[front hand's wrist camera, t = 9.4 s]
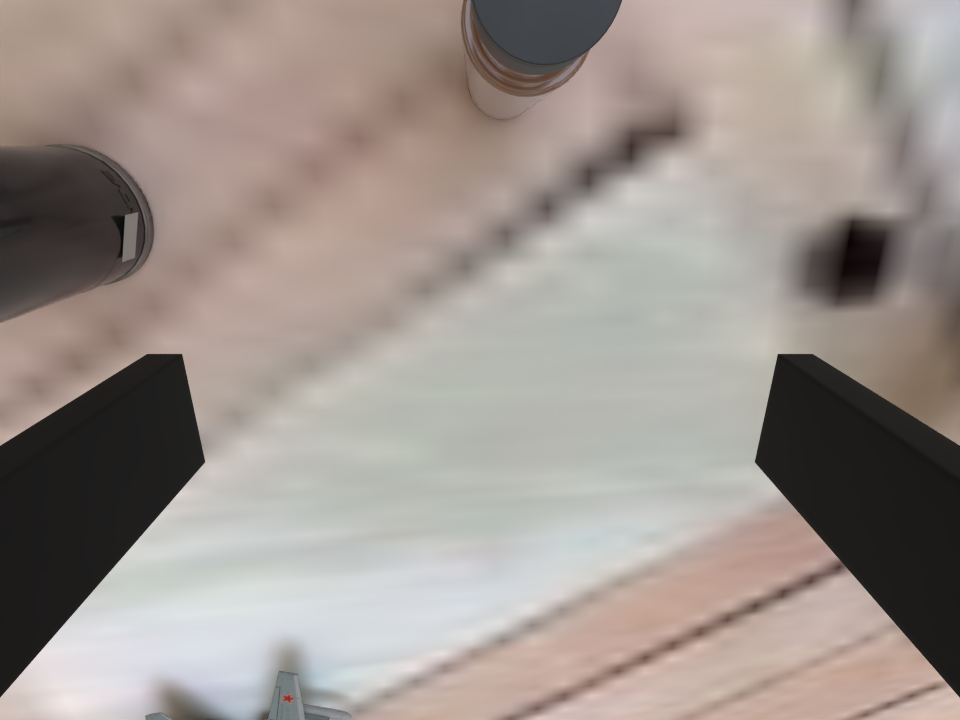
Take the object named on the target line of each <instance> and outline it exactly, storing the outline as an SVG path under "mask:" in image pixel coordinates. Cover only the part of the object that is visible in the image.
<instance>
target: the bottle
mask: <svg viewBox="0 0 960 720" xmlns="http://www.w3.org/2000/svg"><path fill="white" fill-rule="evenodd" d="M461 29H462V39H463V47H464V55H465V63H466V71H467V78H468V86H469V92H470V95H471V97H472V100H473V102H474V103H475V105H476V106H477V107H478V109H479V110H481V111H482V112H483V113H484V114H486V115H487V116H489V117H492V118H495V119H501V120H504V119H511V118H514V117H516V116H518V115H520V114H522V113H523V112H525V111H526V110H527V109H529V108H530V107H532V106H533V105H535V104H536V103H538V102H539V101H540V100H542V99H543V98H545V97H546V96H548V95H549V94H551V93H552V92H553V91H555V90H556V89H558V88H559V87H561V86H562V85H563V84H565V83H566V82H567V81H568V80H569V79H571V78H572V77H573V76H574V74H575V73H576V72H577V71H578V70H579V68H580V67H581V65H582V64H583V62H584V61H585V59H586V57H587V55H588V53H589V50H590V49H589V50H588V51H587V52H586V53H585V54H583V55H582V56H581V57H580V58H579V59H578V60H576V61H575V62H573V63H572V64H571V65H569V66H567V67H565V68H564V69H562V70H559V71H556V72H554V73H549V74H544V75H528V74H524V73H519V72H517V71H514V70H512V69H510V68H508V67H506V66H504V65H503V64H502V63H500V62H499V61H498V60H496V59H495V58H494V57H493V56H492V55H491V54H490V52H489V51H488V50H487V48H486V47H485V46H484V44H483V42H482V41H481V39H480V37H479V35H478V33H477V30H476V28H475V24H474V21H473V17H472V11H471V1H470V0H464V1H463V6H462V12H461Z"/></svg>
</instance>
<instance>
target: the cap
mask: <svg viewBox="0 0 960 720" xmlns="http://www.w3.org/2000/svg"><path fill="white" fill-rule="evenodd" d="M470 1H471V11H472V17H473V21H474V24H475V28H476V30H477V33H478V35H479V37H480V39H481V41H482V42H483V44H484V46H485V47H486V48H487V50H488V51H489V52H490V54H491V55H492V56H493V57H494V58H495V59H496V60H498V61H499V62H500V63H502V64H503V65H504V66H506V67H508V68H510V69H512V70H514V71H517V72H519V73H524V74H528V75H544V74H549V73H554V72H556V71H559V70H562V69H564V68H565V67H567V66H569V65H571V64H572V63H573V62H575V61H576V60H578V59H579V58H580V57H581V56H582V55H583V54H585V53H586V52H587V51H588V50H589V49H591V48H592V47H593V46H594V45H595V44H596V43H597V42H598V41H599V40H600V39H601V38H602V36H603V35H604V34H605V33H606V32H607V30H608V29H609V27H610V25H611V24H612V22H613V20H614V18H615V16H616V14H617V12H618V10H619V7H620V5H621V2H622V0H470Z"/></svg>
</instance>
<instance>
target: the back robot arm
mask: <svg viewBox="0 0 960 720" xmlns="http://www.w3.org/2000/svg"><path fill="white" fill-rule="evenodd" d="M152 239H153V224H152V218H151V214H150V210H149V207H148V204H147V202H146V200H145V198H144V196H143V194H142V192H141V191H140V189H139V188H138V186H137V185H136V183H135V182H134V181H133V179H132V178H131V177H130V176H129V175H128V174H127V173H126V172H125V171H124V170H123V169H122V168H121V167H120V166H118V165H117V164H116V163H115V162H113V161H112V160H110V159H109V158H107V157H106V156H104V155H102V154H100V153H98V152H96V151H93V150H90V149H88V148H84V147H80V146H74V145H48V146H30V147H26V146H0V323H3V322H5V321H8V320H11V319H13V318H16V317H19V316H21V315H24V314H27V313H29V312H32V311H35V310H37V309H40V308H43V307H45V306H48V305H51V304H53V303H56V302H59V301H61V300H64V299H67V298H69V297H72V296H75V295H77V294H80V293H83V292H86V291H89V290H91V289H94V288H97V287H99V286H102V285H107V284H111V283H114V282H117V281H120V280H122V279H125V278H127V277H129V276H130V275H132V274H133V273H135V272H136V271H137V270H138V269H139V268H140V267H141V266H142V264H143V263H144V262H145V260H146V258H147V256H148V254H149V252H150V249H151V245H152Z"/></svg>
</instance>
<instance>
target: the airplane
mask: <svg viewBox="0 0 960 720" xmlns="http://www.w3.org/2000/svg"><path fill="white" fill-rule="evenodd" d="M145 717H146V720H172V719H170V718H169V717H167V716H166V715H164V714H163V713H154V714H149V715H146V716H145ZM351 717H352V716H351V715H350V714H349V713H347V712H344V711H341V710H336V709H331V708H325V707H318V706H312V705H305V704H303V703H302V697H301V691H300V686H299V680H298V675H297V674H295V673H289V672H281V671H279V673H278V678H277V682H276V686H275V691H274V695H273V700H272V704H271V708H270V713H269V717H268V719H266V720H329V718H333V719H348V718H351Z"/></svg>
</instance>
